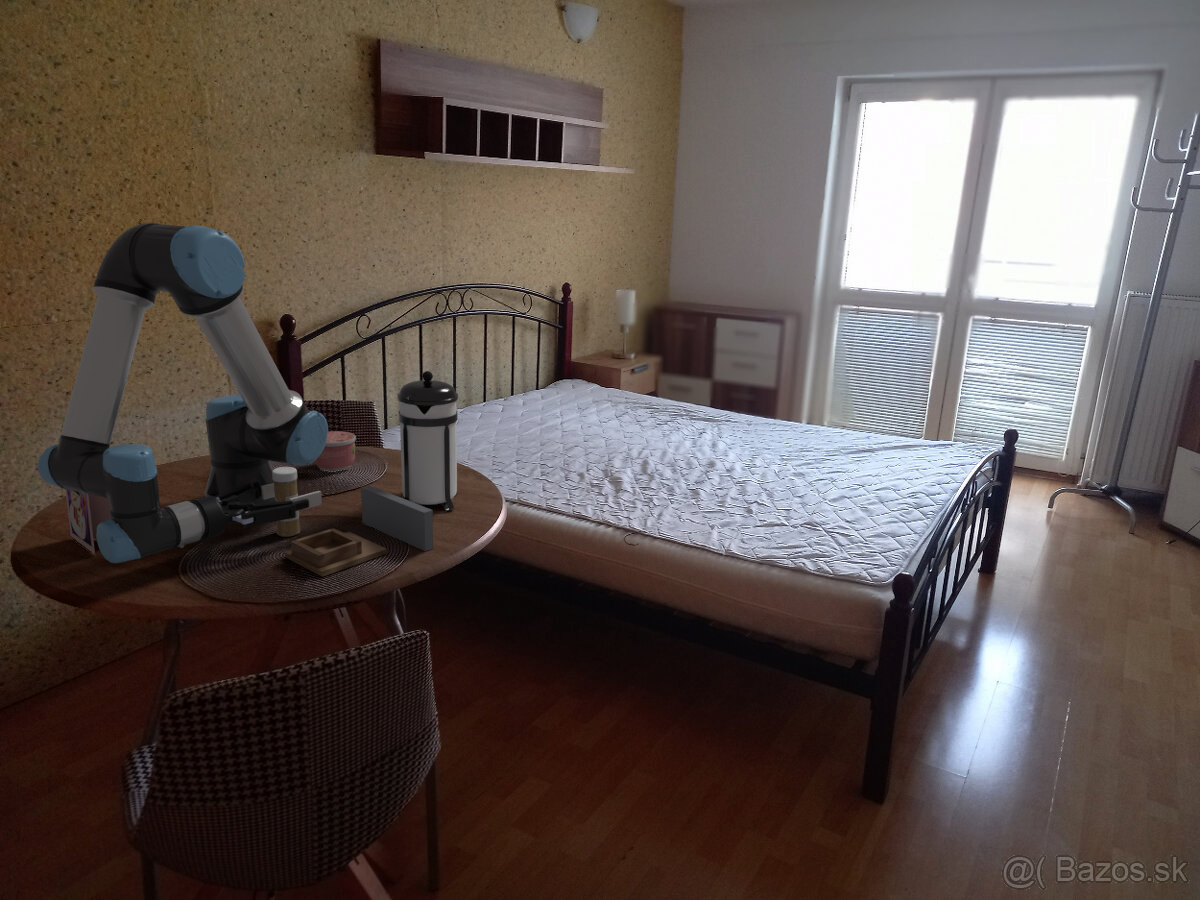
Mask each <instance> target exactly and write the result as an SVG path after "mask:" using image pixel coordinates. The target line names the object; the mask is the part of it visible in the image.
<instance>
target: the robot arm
mask: <svg viewBox="0 0 1200 900" xmlns="http://www.w3.org/2000/svg"><path fill="white" fill-rule="evenodd" d="M244 258H245V257H244V255H243V252H242V251H241V249H240V248H239V245H238V244H237V243H236V241H234V239H232V237H230V236H229V235H228V234H226V233H225V232H223V231H220V230H218V229H216V228H212V227H206V226H203V225H195V224H194V225H187V226H184V225H174V224H173V225H172V224H161V223H153V222H150V223H149V222H148V223H147V222H145V223H140V224H137V225H134V226H132V227H130V228H128V229H126V230H125V231H124V232H122V233H121V234H120V235H118V237H117V238H116V239H115V240H114V242H113V243H112V244H111V245H110V247H109V248H108V250H107V251H106V254H105V255H104V256H103V259H102V261H101V263H100V266H99V268H98V270H97V275H96V277H95V280H94V284H93V287H92V291H93V292H94V294H95V295H96V297H97V298H96V302H95V307H94V309H93V314H92V317H91V321H90V324H89V329H88V331H87V332H88V333H87V336H86V340H85V343H84V347H83V351H82V354H81V358H80V363H79V366H78V370H77V373H76V377H75V381H74V385H73V388H72V391H71V396H70V398H69V399H70V400H69V403H68V406H67V407H68V408H67V410H66V414H65V417H64V418H65V419H64V422H63V425H62V430H61V434H60V437H59V440H58V443H57V444H53V445H50V446H48V447H47V448H46V449H45V450H44V452H42V454H41V455H40V456H39V458H38V462H37V469H38V470H37V471H38V473H39V475H40V477H41V479H42V480H43V481H44V482H45V483H47V484H48V485H50V486H51V485H52V486H53V487H58V488H61V489H63V490H64V491H65V490H68V491H72V490H73V491H78V492H83V493H88V494H92V495H96V496H100V497H104V498H108V500H109V506H110V514H111V519H108V520H106V521H104V522H101V523H100V524H99V525H98V527H97V533H96V537H97V540H96V542H97V545H98V549H99V551H100V553H101V555H102V556H103V558H104V559H105V560H107V562H110V563H112V564H119V563H124V562H129V561H133V560H140V559H141V558H144V557H147V556H151V555H154V554H157V553H160V552H164V551H167V550H171V549H175V548H180V549H182V548H184V547H185V546H186V545H188V544H189V545H190V544H192V543H195V542H198V541H200V540H202V541H203V540H207V539H211V538H214V537H218V536H221V535H222V534H223V533H224V531H225V529H226V527H227V526H228V525H238V524H241V527H242V529H248V528H251V527H254V526H257V525H265V524H269V523H275V522H277V521H280V520H286V519H291V518H295V517H296V512H297V511H299V512H300V511H305V510H307V509H310V508H311V509H312V508H315V507H317V506H318V507H319V506H322V505H323V503H322V501H323V500H322V499H323V498H322V491H320V490H317V491H313V492H309V493H305V494H302V495H298V496H297V497H294V498H290V499H289V501H284V502H275V491H274V482H273V479H272V471H273V469H272V467H271V464H270V461H271V462H276V463H279V464H280V463H281V464H285V465H290V466H308V465H311V464H314V463H315V460H316V459H317V458H318V457H319V456H320V455H321V453H322V451H323V450H324V447H325V445H326V440H327V437H328V432H329V425H328V421H327V419H326V417H325V416H324V415H323V414H322V413H321V412H319V411H317V410H310V409H308V407H307V405H306V403H305V401H304V400H303V397H302V396H301V395H300V394H299V393H298V392H297V391H294V390H291V389H289V387H288V385H287V384H286V381H285V380H284V378H283V376H282V374H281V373H280V371H279V369H278V367H277V365H276V363H275V361H274V360H273V357H272V356H271V354H270V352H269V350H268V348H267V346H266V345H265V342H264V341H263V338H262V336H261V335H260V333H259V331H258V329H257V327H256V325H255V324H254V322H253V320H252V318H251V316H250V314H249V313H248V310H247V309H246V307H245V306H246V305H245V304H244V302H243V301H242V299H241V297H242V295H243V293H244V290H245V288H244V285H243V284H244V281H245V277H246V272H245V271H244V268H246V262H245V259H244ZM160 292H165V293H168V294H169V295H170V296H171V298H172V300H173V301H174V303H175V305H176V306H177V308H178V309H179V311H180V312H181V313H182V314H183V315H185V316H188V317H191V318H192V317H194V318H195V320H196V322H197V324H198V325H199V327H200V329H201V331H202V332H203V334H204V335H205V338H206V339H207V341H208V342H209V344H210V346H211V348H212V349H213V351H214V353H215V355H216V356H217V358H218V359H219V361H220V363H221V364H222V367H223V368H224V370H225V372H226V374H227V375H228V376H229V378H230V381H232V384H233V386H234V387H235V388H236V390H237V392H238V394H231V395H225V396H220V397H217V398H214V399H212V400H210V401H208V402H207V404H206V406H205V424H206V433H207V434H206V435H207V440H208V441H207V442H208V449H209V458H210V472H209V475H208V479H207V483H206V487H205V491H204V496H202V497H199V498H195V499H192V500H190V501H189V500H184V501H182V502H178V503H174V504H170V505H166V506H161V501H160V490H159V481H158V467H157V465H156V461H155V456H154V455H155V454H154V451H153V448H151V447H149V446H148V445H145V444H143V443H141V444H139V443H136V444H132V443H125V444H118V445H114V446H111V441H112V437H113V434H114V430H115V426H116V422H117V419H118V415H119V411H120V407H121V405H122V404H121V403H122V401H123V397H124V394H125V390H126V384H127V381H128V377H129V374H130V370H131V366H132V362H133V358H134V355H135V352H136V347H137V344H138V339H139V336H140V331H141V328H142V325H143V321H144V317H145V314H146V311H147V310H149V309H150V308H152V307H154V305H155V301H156V297H157V295H158V294H159V293H160Z"/></svg>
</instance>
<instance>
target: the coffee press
mask: <svg viewBox="0 0 1200 900" xmlns="http://www.w3.org/2000/svg"><path fill="white" fill-rule="evenodd" d="M421 377H422V379H423V380H415V381H414V380H413V381H410V382H408V383H406V384H404V385H403V386H402V387H401V388H400V391H399V393H398V394H397V401H398V403H399V410H398V422H399V429H400V430H399V433H400V465H401V490H402V491H401V492H402V496H403V499H406V500H408V501H411V502H413V503H416V504H418V505H430V506H432V505H438V504H440V505H441V506H443V508H444V511H445V512H450V511H453V510H454V509H455V507H454V504H453V502H452V500H453V499H454V496H455V495H456V496H458V471H457V469H458V468H457V467H458V465H457V464H458V460H457V459H458V457H457V455H458V454H457V453H458V452H457V451H458V450H457V448H458V447H457V446H458V445H457V442H458V441H457V439H458V438H457V422H458V410H457V401H458V399H459V395H458V393H457V392H456V390H455V388H454V386H452V385H451V384H450V383H447V382H444V381H441V380H433V378H434V375H433V373H432V372H431V371H430V370H425V371H424V372H423V373H422V375H421ZM456 496H455V497H456Z"/></svg>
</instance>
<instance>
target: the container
mask: <svg viewBox="0 0 1200 900" xmlns="http://www.w3.org/2000/svg"><path fill="white" fill-rule="evenodd" d="M356 438H357V436H356V435H355V434H354V433H352V432H347V431H340V430H339V431H338V430H337V431H335V430H334V431H332V430H331V431H328V437H327V440H326V445H325V447H324V450H323V451H322V453H321V455H320V456H319V457H318V458H317V459H316V460H315V461H314V463H315V466H316V467H318V469H319V468H320V469H322V470H329V471H336V470H337V471H338V470H344V469H348V468H349V467H351V468H352V465H353V464H354V462H355V459H356V443H355V442H356V440H357V439H356Z"/></svg>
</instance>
